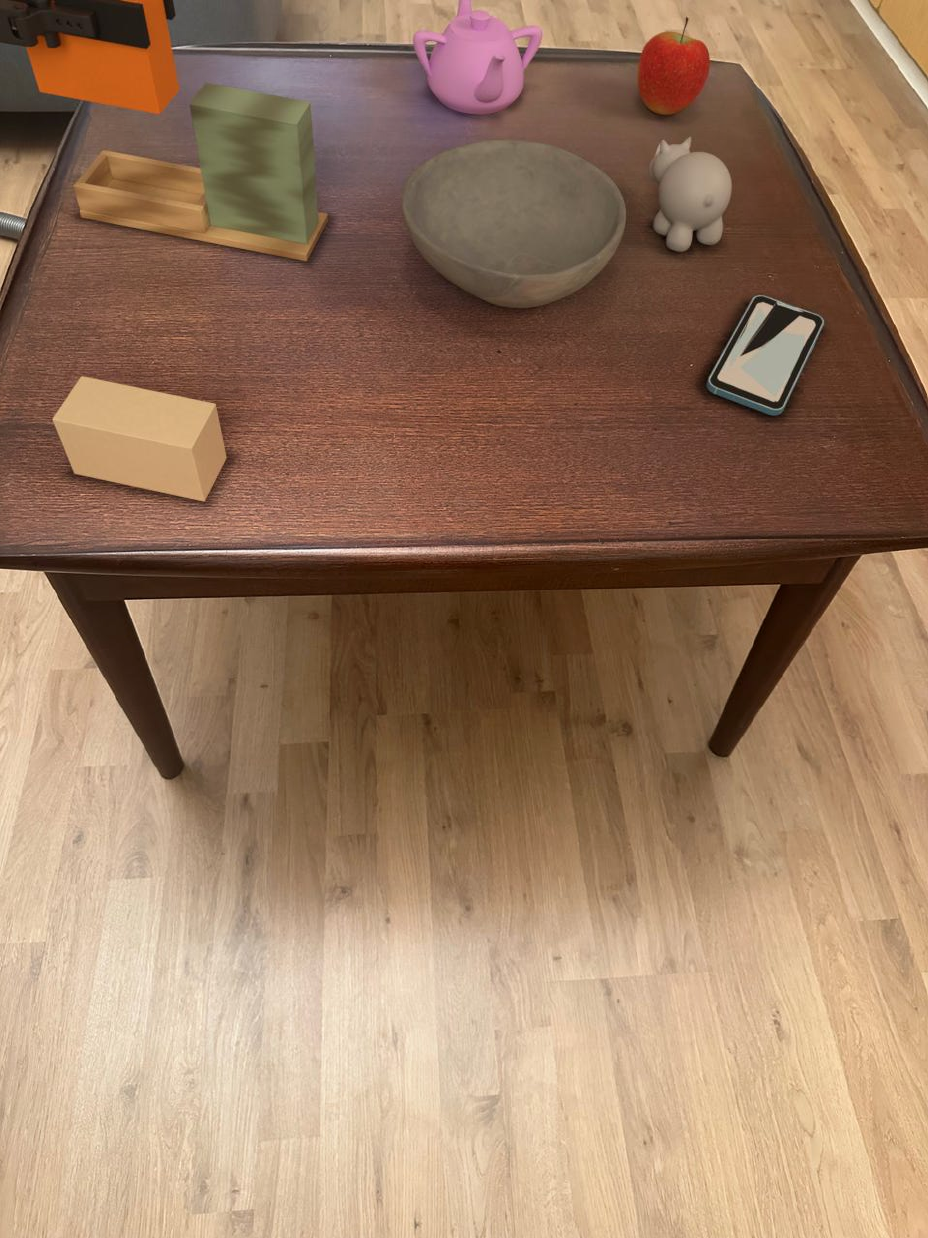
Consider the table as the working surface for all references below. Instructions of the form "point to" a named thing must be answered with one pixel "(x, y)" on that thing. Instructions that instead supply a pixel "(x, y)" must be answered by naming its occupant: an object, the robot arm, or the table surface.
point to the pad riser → (141, 438)
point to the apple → (672, 71)
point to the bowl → (514, 220)
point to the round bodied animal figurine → (689, 194)
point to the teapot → (476, 61)
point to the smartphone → (765, 355)
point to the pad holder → (221, 178)
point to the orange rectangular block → (111, 67)
